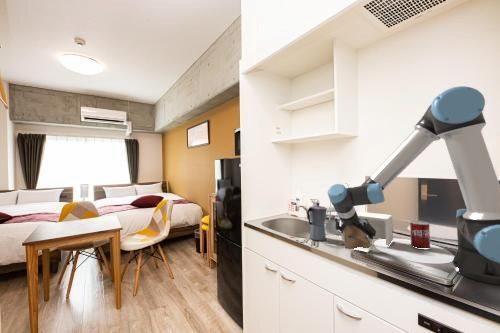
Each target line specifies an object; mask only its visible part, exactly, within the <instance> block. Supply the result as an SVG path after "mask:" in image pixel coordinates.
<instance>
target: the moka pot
mask: <svg viewBox="0 0 500 333" xmlns="http://www.w3.org/2000/svg"><path fill="white" fill-rule="evenodd" d="M306 214H307V219H308V224H309V225H310V232H309V239H310V240H313V241H319V242H320V241H322V242H323V241H326V234H325V225H324V224H325V219H326V215H327V207H326V206H321V205H320V202H317V203H316V205H313V206H310V207H308V209H307V211H306Z"/></svg>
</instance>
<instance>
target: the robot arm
mask: <svg viewBox="0 0 500 333" xmlns="http://www.w3.org/2000/svg"><path fill="white" fill-rule="evenodd" d="M485 105H486V99H485V96H484V94H483V93H482V92H481V91H479V89H476V88H474V87H470V86H461V85H460V86H455V87H454V86H453V87H450V88H448V89H446V90H444V91H442V92H441V93H439V94H438V95H436V97H434V99H433V100H432V102H431V103H430V105H429V106H428V108H427V109H426V111H425V112H424V114H423V115H422V116H421V118H420V120H419V121H417V123H416V124H415V125H414V130H413V131H412V132H411V133H410V134H409V135H408V136H407V137H406V138H405V139H404V141H402V143H400V145H399V146H398V147H397V148H396V149H395V150H394V151H393V152H392V153H391V154H390V155H389V156H388V157H387V158H386V159H385V160H384V161H383V162H382V163H381V164H380V165H379V166H378V167H377V168H376V169H375V170H374V172H372V174H371V175H370V176H369V177H368V178H367V179H366V180H365V181H364V182H363V183H362V184H361V185H359V186H353V187H352V186H351V187H346V186H345V185H344V184H341V183H335V184H333V185H331V186H330V187H329V188H328V190H327V196H328V198H329V202H330V201H331V204H332V206H333V208H335V210H336V212H335V213H336V214H337V215H334V216H335V219H334V220H335V222H336V230H338V231H339V232H340V233H341V232H342V233H341V235H342V234H344V228H345V227H346V226H347V225H349V226H354V227H356V228H357V229H358V228H359V229H360V230H361V231H363V232H364V233H365V234H367V238H368V240H369V243H370V244H372V239H373V236H375V234H376V230H375V229H374V228H373V227H372V226H371V225H370V224H369V223H368V221H367V219H364V220H360V219H359V218H358V215H357V213H356V211H357V210H356V206H366V205H377V204H381V203H384V202H385V201H386V200H385V195H384V190H385V189H386V188H387V187H388V186H389V185H390V184H391V183H393V181H394V180H395V179H396V178H397V177H398V176H399V175H400V174H401V173H402V172H404V170H405V169H406V168H407V167H409V166H410V164H411V163H412V162H414V161H415V160H416V159H417V158H418V157H419V156H420V155H421V154H422V153H423V152H424V151H425V150H426V149H427V148H428V147H430V145H431V144H433V142H435V141H437V142H438V141H440V140H441V139H443V140H444V141H445V145H446V150H447V151H448V156H449V158H450V161H451V165H452V167H453V170H454V173H455V176H456V179H457V182H458V185H459V189H460V193H461V195H462V198H463V201H464V206H465V207H466V208H460V209H457V210H456V216H455V218H456V232H457V233H456V235H457V250H456V252H455V254H454V256H453V259H452V260H451V261H452V264H453V265H454V266H455V267H458V268H459V272H460V274H459V275H461V276H464V277H466V278H469V279H471V280H474V281H479V282H482V283H487V284H493V285H500V182H499V179H498V175H497V173H496V170H495V168H494V164H493V163H492V159H491V155H490V153H489V149H488V148H487V144H486V142H485V138H484V136H483V132H482V129H483V128H485V127H486V125H487V122H486V119H485V116H484V113H483V112H484V109H485ZM341 221H342V222H343V224H342V225H341ZM452 264H451V265H452Z"/></svg>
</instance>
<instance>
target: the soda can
mask: <svg viewBox="0 0 500 333" xmlns="http://www.w3.org/2000/svg"><path fill="white" fill-rule="evenodd" d="M409 229H410V234H409V235H410V246H411V245H412V246H414V247H417V248H430V249H431V232H430V224H429V223H428V222H427V221H422V220H412V221H410V223H409ZM412 246H411V247H412Z"/></svg>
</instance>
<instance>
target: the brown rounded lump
mask: <svg viewBox="0 0 500 333" xmlns="http://www.w3.org/2000/svg"><path fill="white" fill-rule="evenodd" d="M344 235H345V240H344V248H345V249H348V250H351V249H354V248H357V247H363V248H369V247H370V248H371V245H370V243H369V240H368V238H367V234H365V233H364V232H363V231H361V230H360V229H359V228H358V229H357V228H356V227H354V226H349V225H347V226H346V227H345V228H344Z"/></svg>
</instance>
